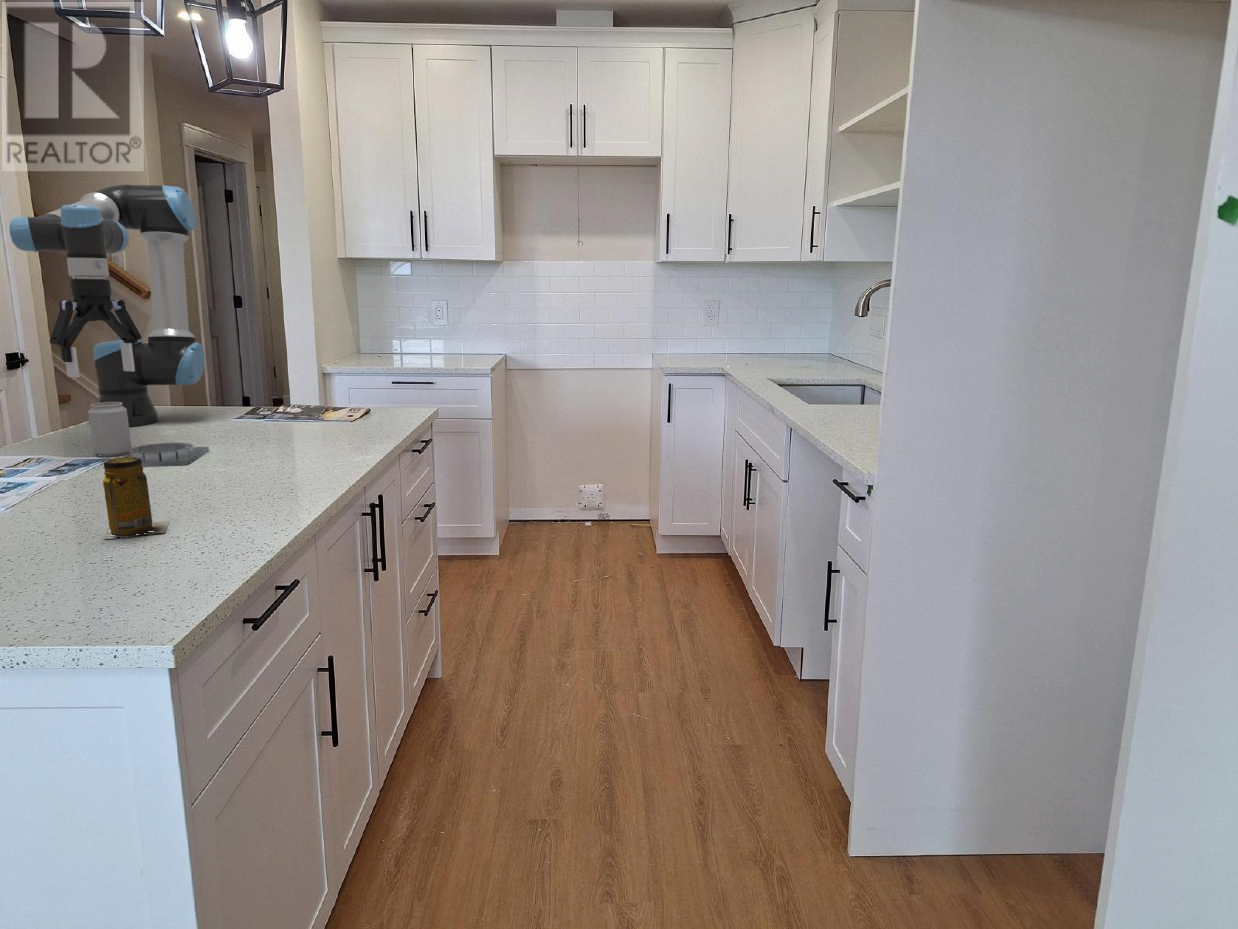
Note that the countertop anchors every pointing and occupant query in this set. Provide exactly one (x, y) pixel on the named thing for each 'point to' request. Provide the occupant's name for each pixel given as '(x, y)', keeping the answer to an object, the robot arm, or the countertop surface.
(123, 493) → the condiment
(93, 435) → the can
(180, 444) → the duct flange
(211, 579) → the countertop surface
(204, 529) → the countertop surface
